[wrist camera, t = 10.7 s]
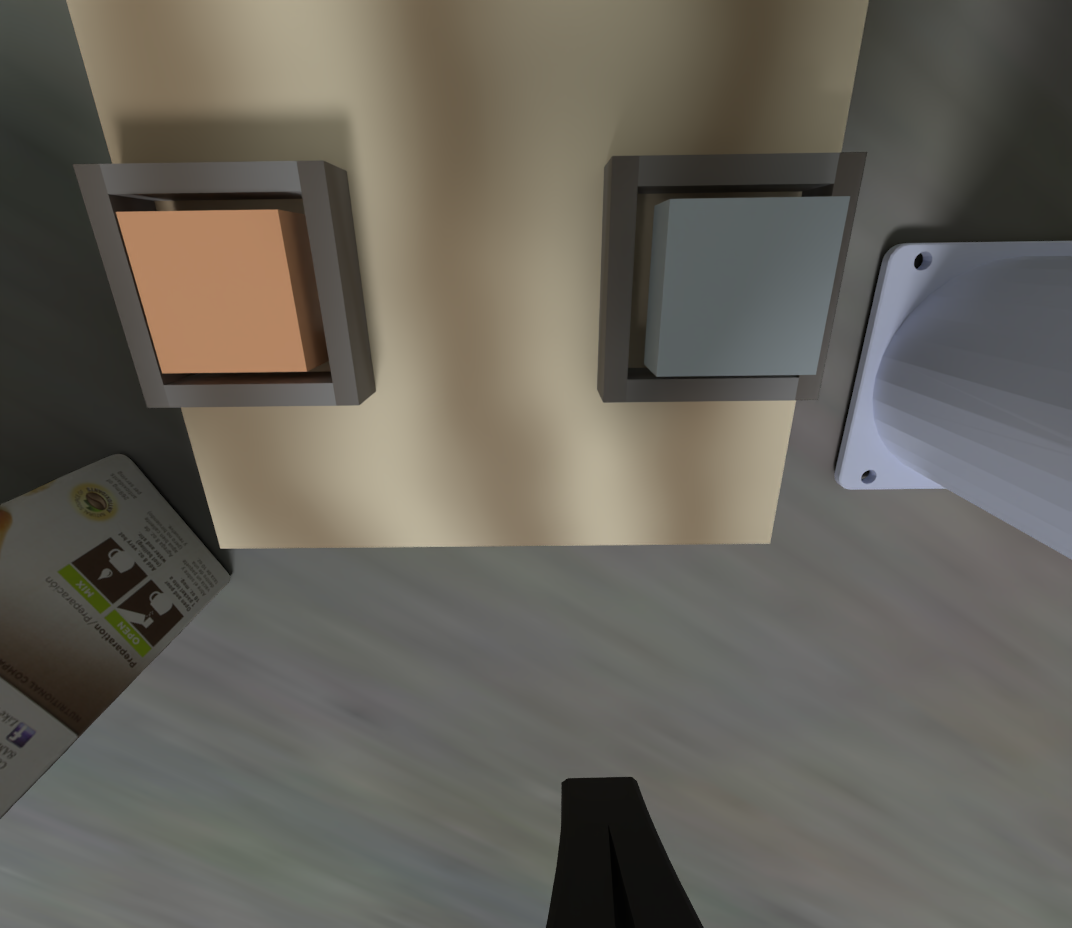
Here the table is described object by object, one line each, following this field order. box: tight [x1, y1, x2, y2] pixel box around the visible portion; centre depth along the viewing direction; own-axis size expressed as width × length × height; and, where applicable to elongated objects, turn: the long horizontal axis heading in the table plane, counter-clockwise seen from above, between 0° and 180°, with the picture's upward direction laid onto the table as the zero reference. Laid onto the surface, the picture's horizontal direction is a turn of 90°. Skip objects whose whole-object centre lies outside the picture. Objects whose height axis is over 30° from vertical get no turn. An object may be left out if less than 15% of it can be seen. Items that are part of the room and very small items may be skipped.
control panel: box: [66, 0, 869, 549], centre depth 13 cm, size 18×24×4 cm
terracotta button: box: [116, 209, 329, 373], centre depth 13 cm, size 4×4×2 cm
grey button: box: [644, 196, 850, 377], centre depth 12 cm, size 4×4×2 cm
